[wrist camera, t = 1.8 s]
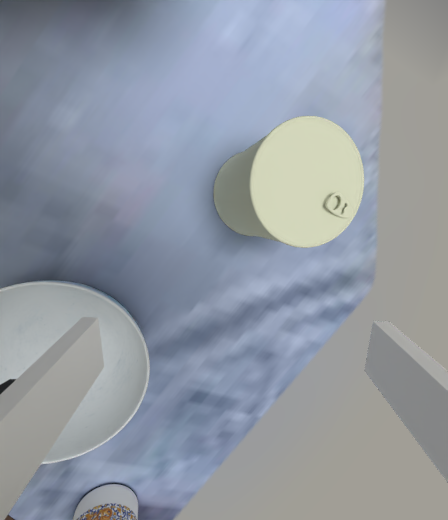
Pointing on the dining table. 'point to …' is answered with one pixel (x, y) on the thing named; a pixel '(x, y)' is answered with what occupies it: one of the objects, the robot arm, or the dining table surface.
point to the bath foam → (108, 504)
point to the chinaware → (51, 330)
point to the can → (293, 184)
